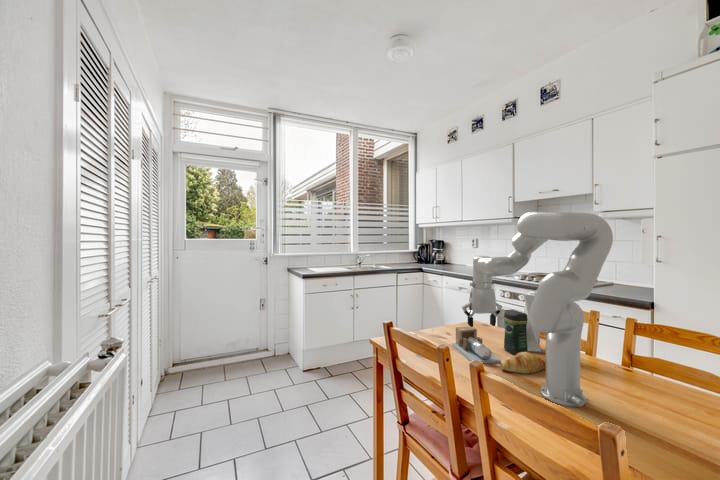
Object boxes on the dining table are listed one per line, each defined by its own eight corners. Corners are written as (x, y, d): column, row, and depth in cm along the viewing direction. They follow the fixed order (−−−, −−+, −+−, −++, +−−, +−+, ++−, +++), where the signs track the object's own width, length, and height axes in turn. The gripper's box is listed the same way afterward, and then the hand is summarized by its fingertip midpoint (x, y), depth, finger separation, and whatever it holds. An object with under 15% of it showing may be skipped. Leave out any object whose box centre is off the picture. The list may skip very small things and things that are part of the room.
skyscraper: (546, 353, 141) (546, 290, 140) (526, 353, 142) (526, 290, 142) (538, 347, 149) (539, 287, 149) (520, 346, 151) (520, 287, 150)
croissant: (504, 383, 122) (510, 369, 118) (490, 361, 130) (495, 347, 126) (554, 377, 125) (561, 363, 121) (537, 356, 134) (544, 343, 130)
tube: (492, 359, 132) (492, 347, 132) (480, 360, 132) (480, 348, 132) (476, 347, 146) (476, 336, 146) (465, 348, 146) (465, 337, 146)
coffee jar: (531, 354, 140) (531, 312, 140) (515, 356, 138) (515, 313, 138) (515, 347, 150) (515, 307, 149) (500, 348, 148) (500, 308, 147)
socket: (476, 345, 149) (476, 329, 149) (459, 346, 149) (459, 329, 148) (472, 342, 154) (472, 326, 153) (455, 343, 153) (455, 327, 153)
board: (500, 362, 132) (500, 360, 132) (472, 364, 131) (472, 361, 131) (476, 344, 154) (476, 342, 154) (452, 345, 153) (451, 343, 153)
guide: (482, 350, 143) (482, 339, 143) (465, 351, 143) (465, 340, 142) (479, 347, 146) (479, 337, 146) (462, 348, 146) (462, 337, 145)
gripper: (466, 287, 130) (465, 329, 131) (506, 286, 132) (506, 327, 132) (458, 284, 137) (458, 323, 138) (497, 283, 139) (496, 322, 140)
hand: (481, 325), depth 135 cm, fingers open, 9 cm apart
